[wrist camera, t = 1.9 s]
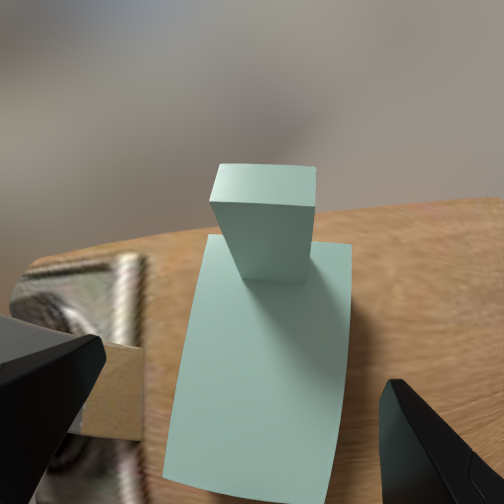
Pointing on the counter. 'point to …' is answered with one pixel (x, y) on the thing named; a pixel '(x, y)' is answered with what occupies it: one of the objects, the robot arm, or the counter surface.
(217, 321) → the lid
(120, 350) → the sandwich container
